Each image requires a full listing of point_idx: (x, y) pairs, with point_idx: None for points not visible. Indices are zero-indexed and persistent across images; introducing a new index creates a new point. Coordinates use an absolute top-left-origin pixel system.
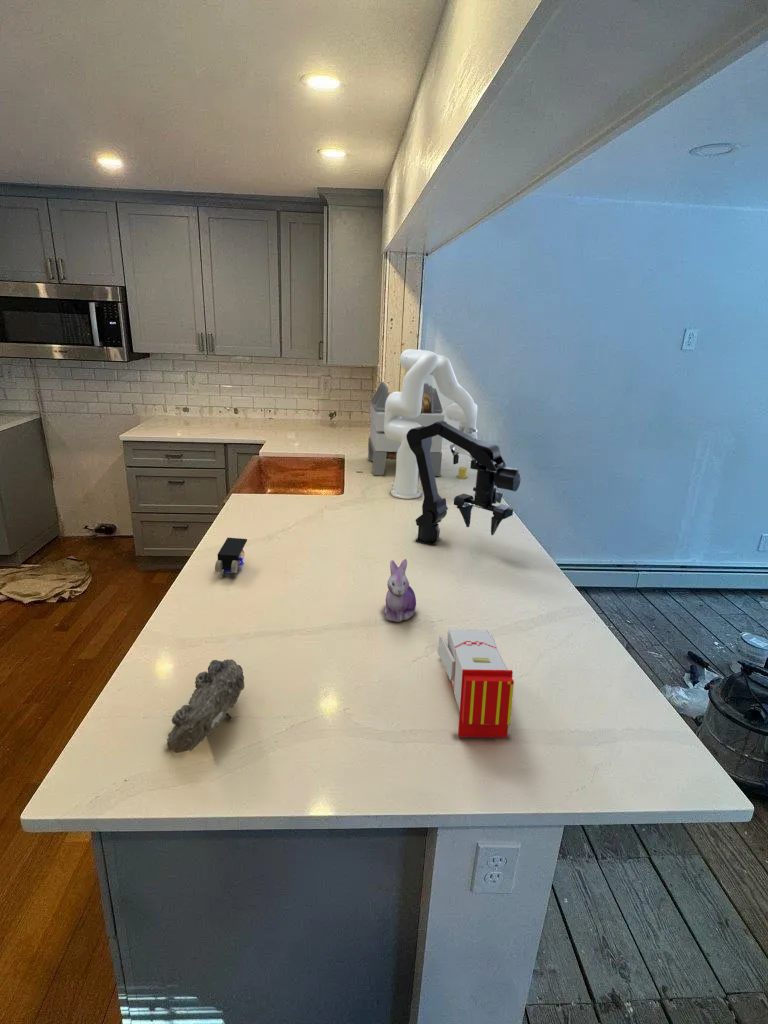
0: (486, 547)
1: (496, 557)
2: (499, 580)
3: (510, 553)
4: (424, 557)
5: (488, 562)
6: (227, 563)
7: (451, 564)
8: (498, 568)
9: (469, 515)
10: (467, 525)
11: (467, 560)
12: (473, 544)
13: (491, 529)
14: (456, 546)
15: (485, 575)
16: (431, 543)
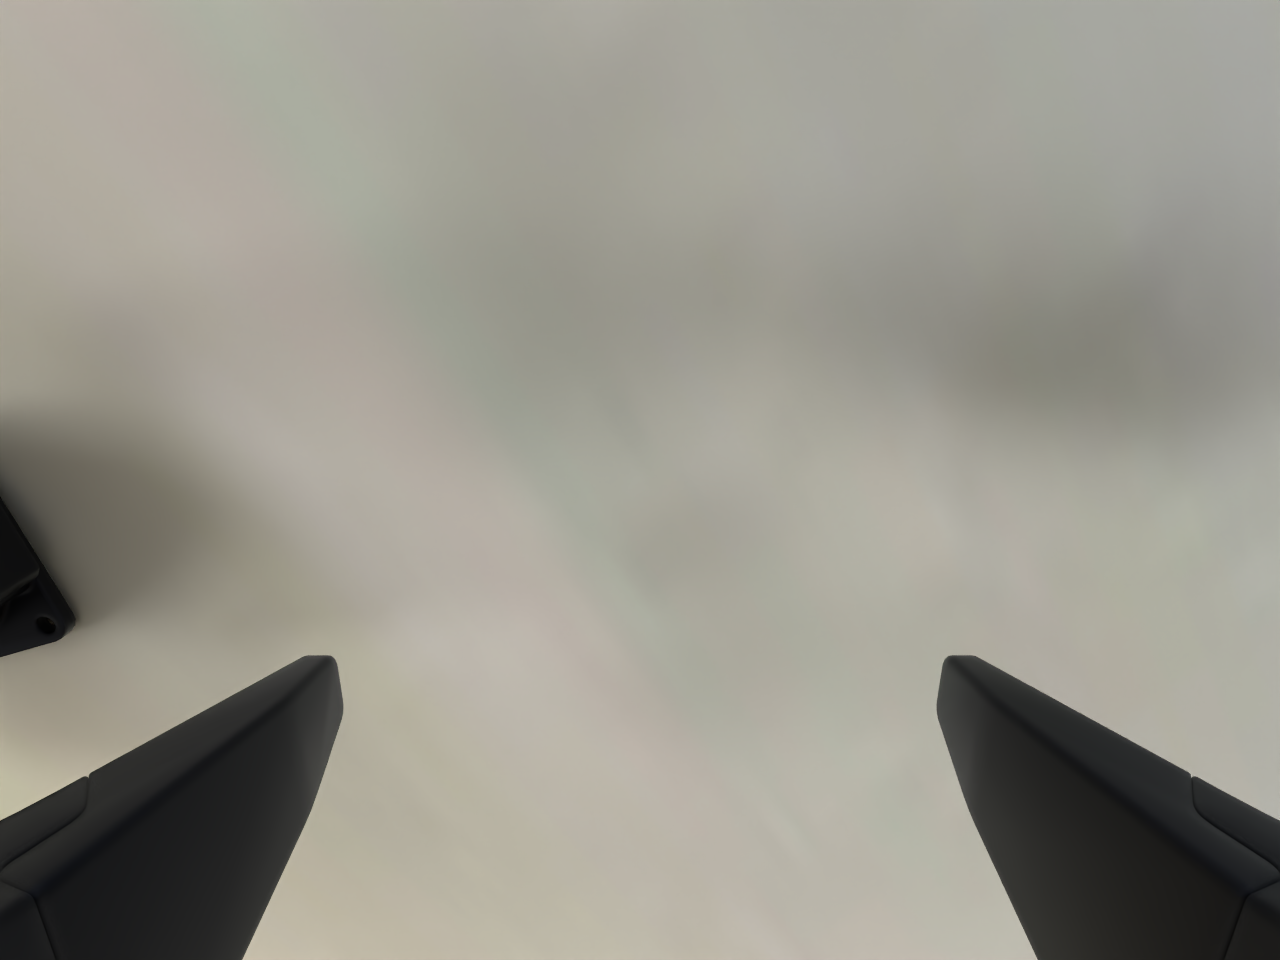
0: (573, 130)
1: (861, 350)
2: None
3: (967, 50)
4: (283, 897)
5: (849, 554)
6: None
7: (574, 849)
8: (1014, 608)
9: (159, 875)
10: (326, 759)
11: (635, 673)
12: (370, 182)
13: (1016, 878)
14: (272, 433)
15: (965, 823)
16: (44, 637)
